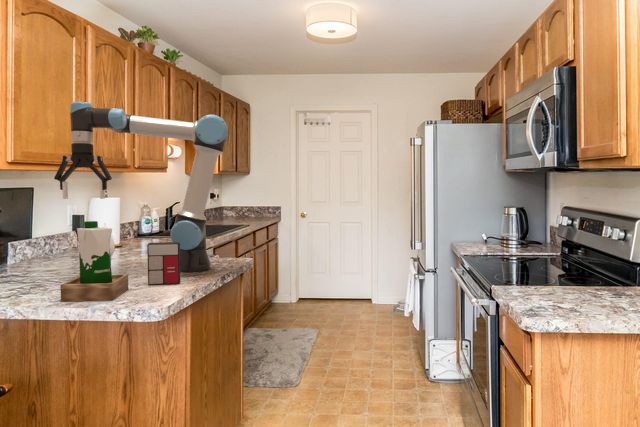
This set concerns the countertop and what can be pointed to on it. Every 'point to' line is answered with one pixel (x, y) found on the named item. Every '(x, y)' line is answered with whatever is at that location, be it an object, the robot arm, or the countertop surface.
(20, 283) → the countertop surface
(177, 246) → the beige and red box
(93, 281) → the soya milk
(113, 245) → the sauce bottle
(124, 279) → the wooden tray
